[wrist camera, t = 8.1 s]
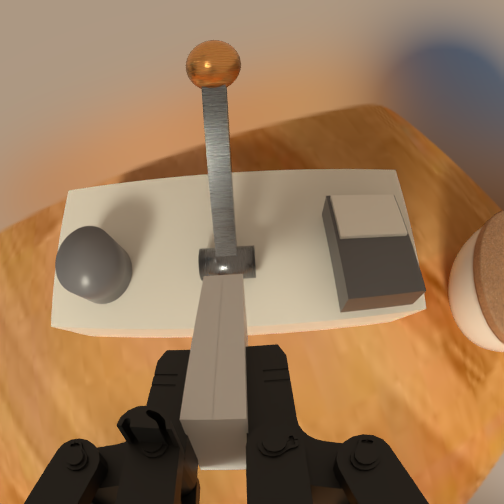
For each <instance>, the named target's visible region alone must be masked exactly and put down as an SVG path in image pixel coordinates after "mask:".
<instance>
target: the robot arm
mask: <svg viewBox="0 0 504 504" xmlns="http://www.w3.org/2000/svg"><path fill="white" fill-rule="evenodd" d="M117 427H118V428H119V430H120V432H121V433H122V435H123V436H124V438H125V439H126V442H124V443H120V444H117V445H111V446H105V447H98V448H96V446H95V445H94V444H92V443H91V442H89V441H88V440H84V439H73V440H70V441H68V442H66V443H64V444H63V445H62V446H61V447H60V448H59V449H58V450H57V452H56V453H55V455H54V457H53V458H52V460H51V461H50V463H49V464H48V466H47V467H46V469H45V471H44V472H43V474H42V475H41V477H40V479H39V480H38V482H37V483H36V485H35V487H34V488H33V490H32V491H31V493H30V495H29V496H28V498H27V500H26V501H25V503H24V504H199V499H200V484H199V480H198V478H197V470H198V465H199V467H200V469H201V470H238V469H246V478H247V504H429V503H428V502H427V500H426V499H425V497H424V496H423V494H422V493H421V491H420V490H419V489H418V487H417V486H416V484H415V483H414V481H413V480H412V478H411V477H410V475H409V474H408V472H407V471H406V470H405V468H404V467H403V465H402V464H401V462H400V461H399V459H398V458H397V456H396V455H395V453H394V452H393V451H392V449H391V448H390V446H389V445H388V444H387V443H386V442H385V441H384V440H383V439H381V438H378V437H376V436H374V435H364V434H362V435H358V436H354V437H351V438H350V439H348V440H347V441H345V442H344V443H334V442H326V441H321V440H317V439H314V438H312V437H310V436H308V435H307V434H306V433H305V432H304V431H303V430H302V429H301V428H300V426H299V424H298V421H297V417H296V411H295V405H294V399H293V393H292V387H291V381H290V375H289V371H288V363H287V357H286V354H285V353H284V352H283V351H282V349H281V348H280V347H279V346H278V344H277V345H263V346H249V347H248V330H247V318H246V306H245V294H244V282H243V274H231V275H215V276H204V277H203V283H202V288H201V293H200V299H199V304H198V310H197V315H196V321H195V326H194V332H193V338H192V344H191V350H167V351H166V352H165V353H164V354H163V356H162V357H161V358H160V359H159V360H158V362H157V366H156V370H155V376H154V378H153V382H152V387H151V389H150V393H149V398H148V402H147V406H138V407H135V408H133V409H131V410H128V411H127V412H126V413H125V414H124V415H122V416H121V417H120V419H119V421H118V423H117Z"/></svg>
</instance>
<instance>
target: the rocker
mask: <svg viewBox="0 0 504 504" xmlns="http://www.w3.org/2000/svg"><path fill="white" fill-rule="evenodd" d="M322 218H323V223H324V228H325V233H326V237H327V242H328V247H329V252H330V257H331V263H332V268H333V273H334V279H335V284H336V290H337V296H338V301H339V307H340V312H350V311H360V310H369V309H378V308H386V307H394V306H402V305H410V304H413V303H414V302H415V301H416V300H417V299H418V298H419V297H420V296H421V295H422V294H423V293H424V292H425V291H426V288H425V284H424V281H423V278H422V274H421V271H420V267H419V264H418V261H417V258H416V255H415V252H414V248H413V245H412V242H411V239H410V236H409V234H408V231H407V228H406V225H405V222H404V219H403V217H402V214H401V211H400V209H399V206H398V203H397V201H396V198H395V196H394V195H331V196H326V199H325V203H324V207H323V211H322Z"/></svg>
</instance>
